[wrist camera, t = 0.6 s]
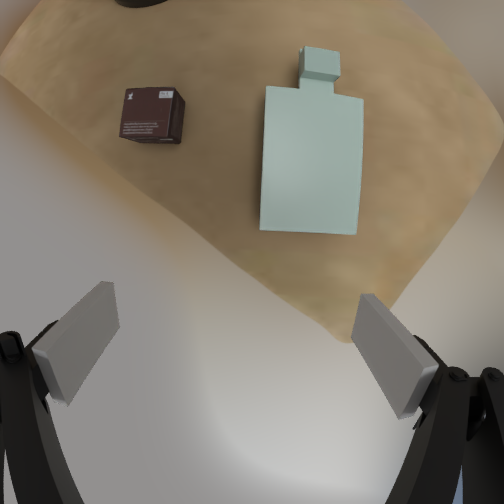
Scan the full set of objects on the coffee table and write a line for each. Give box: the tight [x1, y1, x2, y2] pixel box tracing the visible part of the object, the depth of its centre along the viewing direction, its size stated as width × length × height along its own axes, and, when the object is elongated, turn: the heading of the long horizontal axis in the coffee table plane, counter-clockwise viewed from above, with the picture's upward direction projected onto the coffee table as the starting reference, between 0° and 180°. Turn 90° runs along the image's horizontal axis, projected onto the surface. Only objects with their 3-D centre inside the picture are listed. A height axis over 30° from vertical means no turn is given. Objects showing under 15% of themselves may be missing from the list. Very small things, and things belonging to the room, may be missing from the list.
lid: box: [259, 46, 363, 235], centre depth 29 cm, size 22×12×4 cm, turn 177°
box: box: [119, 87, 185, 144], centre depth 31 cm, size 6×6×7 cm
